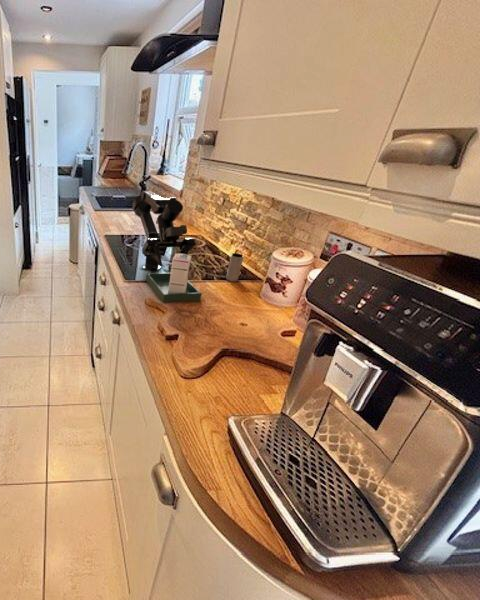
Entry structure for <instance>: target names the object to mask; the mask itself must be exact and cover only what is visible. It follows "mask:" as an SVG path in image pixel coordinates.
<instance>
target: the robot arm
mask: <svg viewBox="0 0 480 600" xmlns="http://www.w3.org/2000/svg"><path fill="white" fill-rule="evenodd" d="M131 206H132V207H131V208H132V211H133V213H134V215H136V216H137V217H138V218H140V221H141V224H142V227H143V230H144V234H145V237H146V240H145V242H144V244H143V245H142V247H141V248H142V249H141V253H142V255H143V256H144V257H145V261H144V262H145V263H144V265H143V266H142V267H141V269H142V270H147V271H150V272H158V271H159V270H160V269H161V267H162V266H163V263H162V257H165V255H166V252H167V249H168V248H179V250H180V251H179V254H187V255H189V252H190V251H192V250H193V248H194V247H195V246H196V245H197V240H196V238H194V237H185V238H183V239H182V241H179V240H180V237H183V235H186V234H187V233H188V228H187V224H181V225H179V226H175V224H174V221H176V220H177V218H178V217H179V215H180V214H181V212H183V209H184V205H183V204H182V203H181V201H179V200H178V199H177V197H170V198H167V197H166V198H164V197H161V196H159V195H158V194H156V193H155V192H154V191H153V190H143V191H142V192H141V193H140V194H139V195H138V196H136V197H135V198H134V200H133V202H132V205H131ZM151 211H152V213H153V214H154V215H158V216H157V218H156V221H154V219H153V216H152V214H151ZM156 225H157V228H156ZM157 229H158V230H157Z"/></svg>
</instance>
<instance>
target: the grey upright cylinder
mask: <svg viewBox="0 0 480 600" xmlns="http://www.w3.org/2000/svg"><path fill="white" fill-rule="evenodd" d="M244 257H245V255H244V254H242V253H231V255H230V258H229V262H228V267H227V271H226V275H225V279H226V280H227V281H229V282H237V281H239V277H240V273H241V269H242V265H243V262H244Z"/></svg>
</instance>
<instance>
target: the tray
mask: <svg viewBox="0 0 480 600" xmlns="http://www.w3.org/2000/svg"><path fill="white" fill-rule="evenodd" d="M170 275H171V272H150V273H149V272H148V273H146V275H145V281H146V283H147V284H148V286H149V287H150V288H151V290H153V292H154V293H155V295H156V296H157V297H158V298H159V299H160V301H161V302H162V303H180V302H181V303H182V302H183V303H185V302H200V301H201V299H202V292H201V291H200V290H199V288H197V287H195V285H194V284H192V283H191V282H190V281H189V280H188V281H187V287H186V293H170V294H168V289H169V282H170Z"/></svg>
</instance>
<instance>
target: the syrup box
mask: <svg viewBox="0 0 480 600" xmlns="http://www.w3.org/2000/svg"><path fill="white" fill-rule="evenodd" d="M191 262H192V255H191V254H188V255H187V254H180V252H179V253H178V252H177V253H176V252H175V254H174V255H173V257H172V261H171V269H170V273H171V275H170V282H169V289H168V294H170V293H186V287H187V281H189V275H190V268H191Z"/></svg>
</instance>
